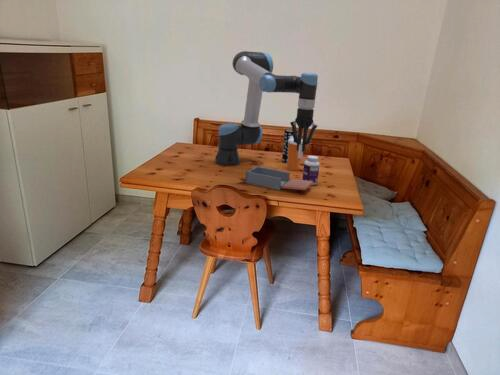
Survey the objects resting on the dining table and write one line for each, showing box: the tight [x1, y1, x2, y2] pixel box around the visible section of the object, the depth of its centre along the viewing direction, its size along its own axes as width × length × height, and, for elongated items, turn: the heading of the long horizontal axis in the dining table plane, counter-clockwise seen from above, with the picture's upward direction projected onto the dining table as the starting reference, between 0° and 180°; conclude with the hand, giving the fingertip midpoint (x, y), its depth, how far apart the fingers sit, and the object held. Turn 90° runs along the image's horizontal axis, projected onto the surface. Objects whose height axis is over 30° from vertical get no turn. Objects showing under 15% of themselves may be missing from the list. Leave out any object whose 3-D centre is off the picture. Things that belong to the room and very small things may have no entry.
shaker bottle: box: [286, 135, 303, 171], centre depth 206 cm, size 9×9×20 cm
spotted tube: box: [281, 129, 299, 164], centre depth 220 cm, size 8×8×20 cm
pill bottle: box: [301, 155, 321, 186], centre depth 182 cm, size 8×8×14 cm
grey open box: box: [245, 165, 291, 191], centre depth 180 cm, size 19×13×6 cm
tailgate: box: [280, 178, 313, 191], centre depth 173 cm, size 1×14×12 cm
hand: (299, 157), depth 169 cm, fingers closed
